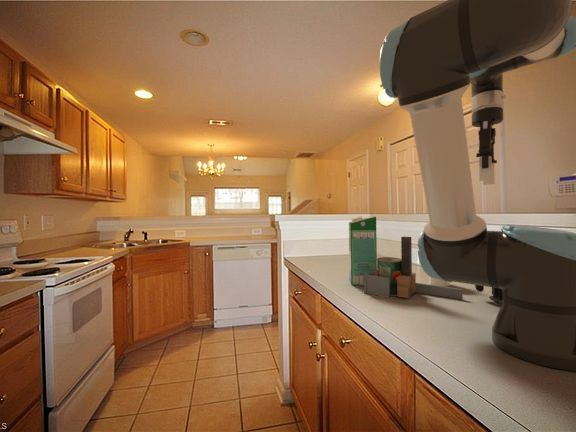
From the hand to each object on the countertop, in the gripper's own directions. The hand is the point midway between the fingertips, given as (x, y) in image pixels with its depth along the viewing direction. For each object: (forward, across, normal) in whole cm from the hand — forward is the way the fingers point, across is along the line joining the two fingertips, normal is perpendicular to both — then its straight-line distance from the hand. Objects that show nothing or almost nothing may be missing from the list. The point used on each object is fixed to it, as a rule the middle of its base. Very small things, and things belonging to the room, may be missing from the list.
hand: (487, 182), depth 82 cm
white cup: (+35, +12, +15) cm, 40 cm away
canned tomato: (+35, -9, +26) cm, 44 cm away
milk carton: (+35, -2, +38) cm, 52 cm away
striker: (+35, -9, +20) cm, 41 cm away
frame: (+35, -9, +19) cm, 41 cm away
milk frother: (+35, -3, -5) cm, 35 cm away
